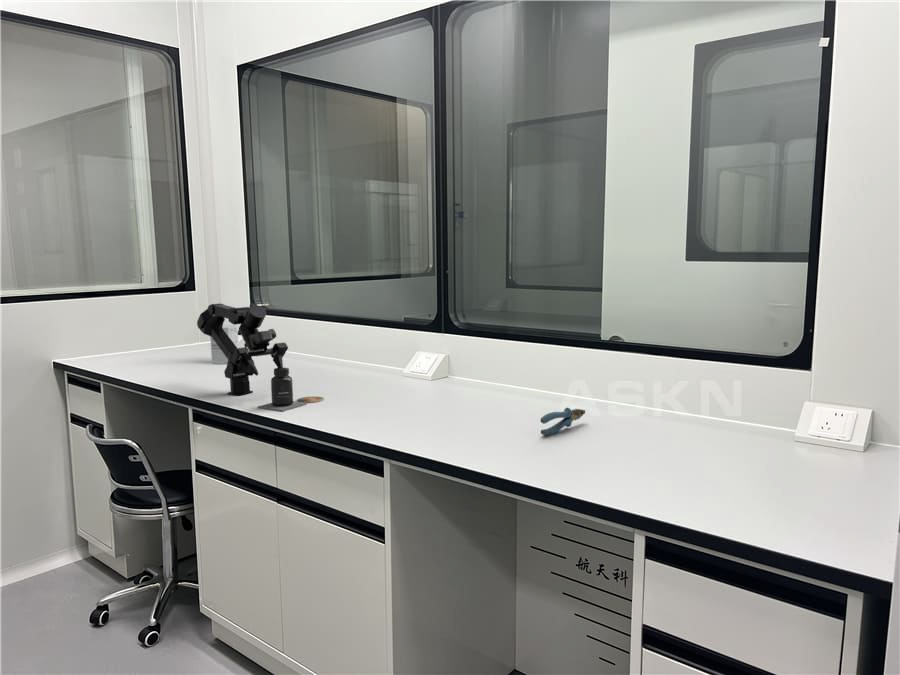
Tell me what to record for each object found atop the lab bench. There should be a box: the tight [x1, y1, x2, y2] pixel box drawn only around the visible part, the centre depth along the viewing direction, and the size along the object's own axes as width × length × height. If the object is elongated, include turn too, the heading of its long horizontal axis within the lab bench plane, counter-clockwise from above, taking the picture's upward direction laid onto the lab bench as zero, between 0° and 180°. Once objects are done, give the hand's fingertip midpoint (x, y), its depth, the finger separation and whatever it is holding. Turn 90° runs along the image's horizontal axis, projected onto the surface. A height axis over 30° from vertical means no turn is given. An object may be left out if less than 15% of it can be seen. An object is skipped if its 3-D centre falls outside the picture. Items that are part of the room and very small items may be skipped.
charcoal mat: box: [257, 400, 308, 413], centre depth 220 cm, size 11×11×1 cm
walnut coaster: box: [296, 395, 325, 404], centre depth 228 cm, size 9×9×1 cm
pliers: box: [540, 407, 586, 436], centre depth 187 cm, size 20×2×6 cm, turn 135°
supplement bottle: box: [270, 367, 294, 407], centre depth 219 cm, size 7×7×12 cm
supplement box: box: [209, 324, 240, 365], centre depth 305 cm, size 10×9×17 cm
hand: (270, 372), depth 223 cm, fingers open, 9 cm apart
